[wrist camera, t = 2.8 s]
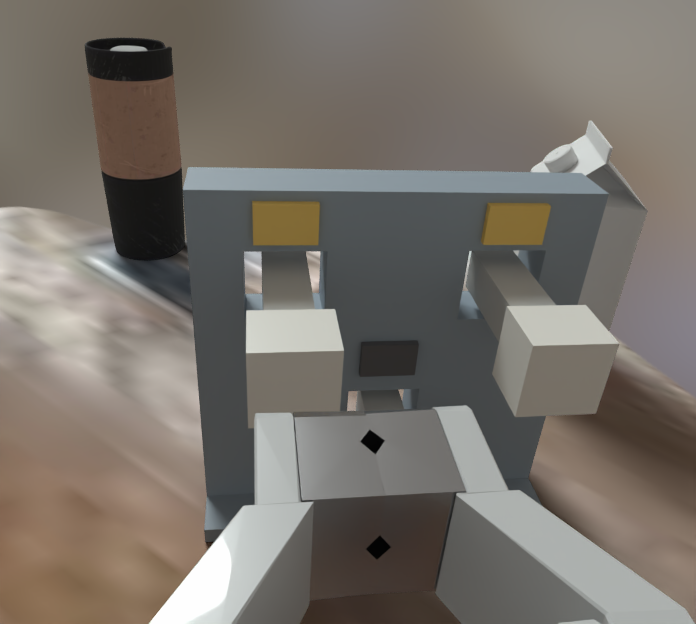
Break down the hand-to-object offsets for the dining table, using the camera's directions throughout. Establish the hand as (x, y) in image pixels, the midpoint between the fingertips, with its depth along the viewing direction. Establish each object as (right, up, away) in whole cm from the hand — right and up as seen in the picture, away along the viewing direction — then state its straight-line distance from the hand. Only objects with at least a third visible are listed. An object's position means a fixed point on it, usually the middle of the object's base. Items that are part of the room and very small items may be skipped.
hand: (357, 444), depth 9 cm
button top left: (-3, 0, +20) cm, 21 cm away
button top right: (+8, 0, +22) cm, 23 cm away
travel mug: (-21, +9, +59) cm, 63 cm away
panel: (+1, -9, +32) cm, 33 cm away
